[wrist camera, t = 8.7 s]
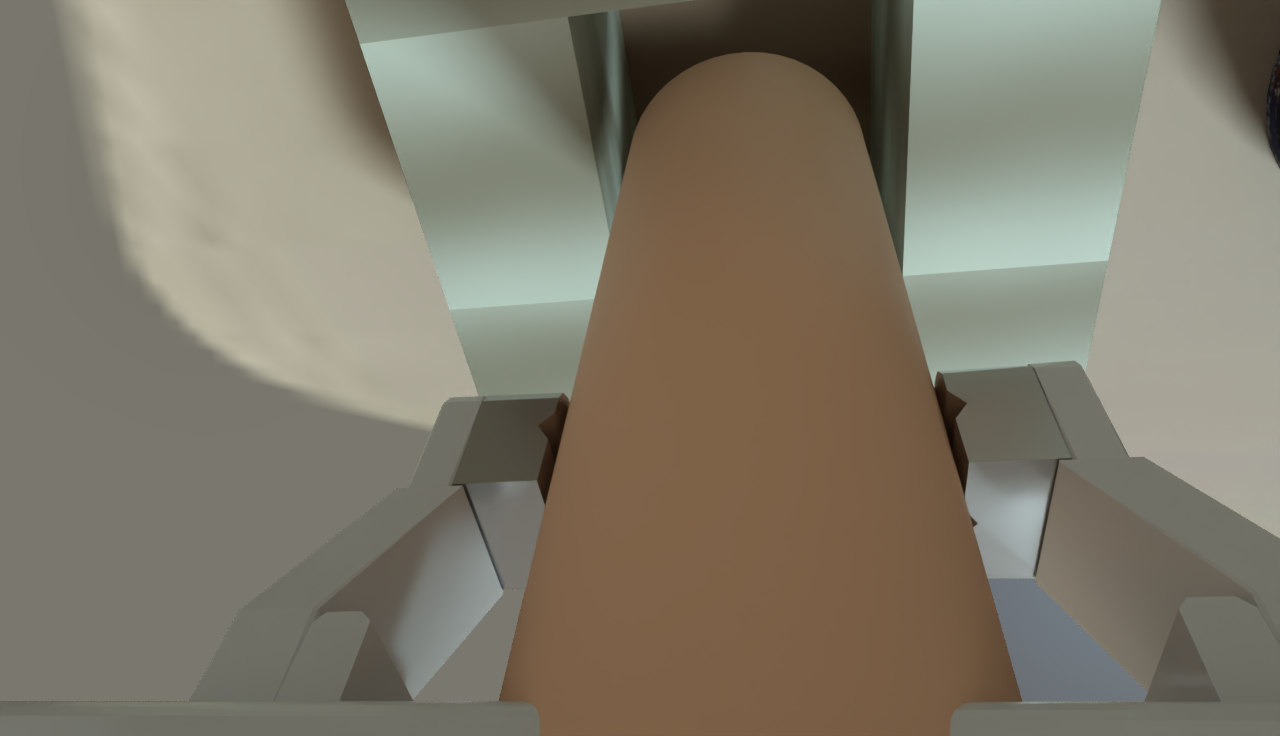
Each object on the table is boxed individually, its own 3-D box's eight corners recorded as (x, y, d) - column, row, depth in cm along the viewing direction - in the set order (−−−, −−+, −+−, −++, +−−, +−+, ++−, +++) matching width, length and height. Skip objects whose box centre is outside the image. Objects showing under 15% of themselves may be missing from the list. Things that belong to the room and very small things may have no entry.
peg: (911, 186, 16) (1283, 1243, 5) (725, 307, 18) (705, 1248, 7) (770, -3, 14) (880, 1004, 3) (581, 154, 16) (259, 1104, 5)
